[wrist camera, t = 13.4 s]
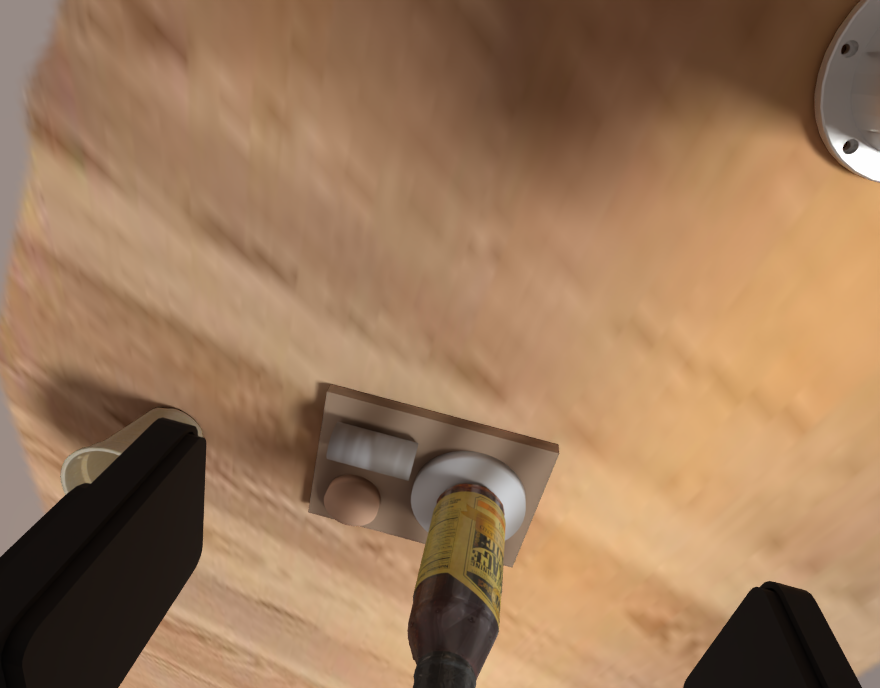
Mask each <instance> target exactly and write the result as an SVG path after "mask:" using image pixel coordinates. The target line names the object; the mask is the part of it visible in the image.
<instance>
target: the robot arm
mask: <svg viewBox="0 0 880 688" xmlns="http://www.w3.org/2000/svg"><path fill="white" fill-rule="evenodd" d="M844 44H845V45H846V51H845V52H844V53H843V54H841V49H842V46H843V45H844ZM814 99H815V118H816V122H817V126H818V130H819V134H820V136H821V138H822V140H823V142H824V144H825V146H826V148H827V150H828V151H829V152H830V154H831V155H832V156H833V157H834V158H835V159H836V160H837V161H838V162H839V163H840V164H841V165H842V166H844V167H845V168H847V169H848V170H850V171H851V172H853V173H854V174H856V175H859V176H861V177H864V178H866V179H868V180H871V181H875V182H879V183H880V0H861V1H860V2H859V3H858V4H857V5H856V6H855V7H854V8H853V9H852V11H851V12H850V13H849V15H848V16H847V17H846V19H845V20H844V21H843V23H842V24H841V25H840V27H839V28H838V30H837V32H836V33H835V35H834V37H833V39H832V41H831V43H830V45H829V47H828V48H827V50H826V52H825V55H824V58H823V61H822V64H821V67H820V70H819V73H818V77H817V83H816V89H815V95H814ZM846 141H847V146H846V147H845V148H844V149H842V148H843V145H844V144H845V143H846ZM205 464H206V440H205V438H203V437H200V436H198V430H197V428H196V426H193V425H190V424H186V423H182V422H178V421H175V420H171V419H167V418H164V417H162V418H158V419H157V420H156V421H154V422H153V423H152V424H151V425H150V426H149V427H148V428H147V429H146V430H145V431H144V432H143V433H142V434H141V435H140V436H139V437H138V438H137V439H136V440H135V441H134V442H133V443H132V444H131V445H130V446H129V447H128V448H127V449H126V450H125V451H124V452H123V453H122V454H121V455H120V456H119V457H118V458H117V459H115V460H114V461H113V462H112V463H111V464H110V465H109V466H108V467H107V468H106V469H105V470H104V471H103V472H102V473H101V474H100V475H99V476H98V477H97V478H96V479H95V480H94V481H93V482H92V483H83V484H81V485H78V486H76V487H75V488H74V489H72V490H71V491H70V492H68V493H67V494H66V495H65V496H64V497H63V498H62V499H61V500H60V501H59V502H58V503H57V504H56V505H55V506H54V507H52V508H51V509H50V510H49V511H48V512H47V513H46V514H45V515H44V516H43V517H42V518H41V519H40V520H39V521H38V522H37V523H36V524H35V525H34V526H32V527H31V528H30V529H29V530H28V531H27V532H26V533H25V534H24V535H23V536H22V537H21V538H20V539H19V540H18V541H17V542H16V543H15V544H14V545H13V546H12V547H10V548H9V549H8V550H7V551H6V552H5V553H4V554H3V555H2V556H1V557H0V688H118V687H119V686H120V684H121V683H122V681H123V680H124V678H125V676H126V675H127V673H128V672H129V670H130V669H131V667H132V666H133V664H134V663H135V661H136V659H137V658H138V656H139V655H140V653H141V652H142V650H143V649H144V647H145V646H146V644H147V642H148V641H149V639H150V638H151V636H152V635H153V633H154V632H155V630H156V628H157V627H158V625H159V624H160V622H161V621H162V619H163V618H164V616H165V615H166V613H167V611H168V610H169V608H170V607H171V605H172V604H173V602H174V601H175V599H176V598H177V596H178V594H179V593H180V591H181V590H182V588H183V587H184V585H185V584H186V582H187V580H188V579H189V577H190V576H191V574H192V573H193V571H194V569H195V568H196V566H197V564H198V562H199V559H200V556H201V552H202V547H203V519H204V492H205ZM683 688H862V687H861V685H860V683H859V681H858V679H857V677H856V676H855V674H854V672H853V670H852V668H851V666H850V664H849V662H848V661H847V659H846V657H845V655H844V653H843V651H842V649H841V647H840V646H839V644H838V642H837V640H836V638H835V636H834V634H833V632H832V631H831V629H830V627H829V625H828V623H827V621H826V619H825V617H824V616H823V614H822V612H821V610H820V608H819V606H818V604H817V602H816V601H815V599H814V598H813V596H812V595H811V594H810V593H809V592H807V591H806V590H802V589H798V588H795V587H791V586H787V585H784V584H780V583H776V582H772V581H768V582H765V583H763V584H762V585H761V586H760V587H754V588H752V589H751V590H750V591H749V593H748V594H747V596H746V597H745V598H744V600H743V601H742V603H741V604H740V605H739V607H738V608H737V609H736V611H735V612H734V614H733V615H732V616H731V618H730V619H729V621H728V622H727V623H726V625H725V626H724V628H723V629H722V630H721V632H720V633H719V634H718V636H717V637H716V639H715V640H714V641H713V643H712V644H711V646H710V647H709V648H708V650H707V651H706V652H705V654H704V655H703V657H702V658H701V659H700V661H699V662H698V664H697V665H696V666H695V668H694V669H693V671H692V672H691V673H690V675H689V676H688V677H687V679H686V681H685V683H684V687H683Z"/></svg>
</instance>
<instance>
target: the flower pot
mask: <svg viewBox="0 0 880 688" xmlns="http://www.w3.org/2000/svg"><path fill="white" fill-rule="evenodd" d="M162 417H164V418H167V419H171V420H175V421H178V422H182V423H186V424H190V425H193V426H196V428H197V430H198V436H200V437H203V435H202V430H201V428H200V427H199V425H198V424H197V423H196V422H195V421H194V420H193V419H192V418H191V417H190V416H188V415H187V414H185V413H184V412H182V411H179V410H177V409H166V408H155V409H152V410H150V411H149V412H147V413H146V414H145V415H143V416H141V417H140V418H138V419H137V420H135V421H134V422H132V423H131V424H129V425H128V426H126V427H125V428H123V429H122V430H120V431H119V432H117V433H115V434H114V435H112V436H111V437H109V438H108V439H106V440H104V441H103V442H99V443H96V444H93V445H92V446H89V447H84V448H81V449H79V450H77V451H75V452H74V453H72V454H71V455H70V456H68V457H67V459H66V460H65V461H64V463H63V466H62V469H61V476H60V477H61V483H62V487H63V490H64V493H65V494H67V493H68V492H70V491H71V490H72V489H74V488H75V487H76V486H78V485H81V484H83V483H92V482H93V481H94V480H95V479H96V478H97V477H98V476H99V475H100V474H101V473H102V472H103V471H104V470H105V469H106V468H107V467H108V466H109V465H110V464H111V463H112V462H113V461H114V460H115V459H117V458H118V457H119V456H120V455H121V454H122V453H123V452H124V451H125V450H126V449H127V448H128V447H129V446H130V445H131V444H132V443H133V442H134V441H135V440H136V439H137V438H138V437H139V436H140V435H141V434H142V433H143V432H144V431H145V430H146V429H147V428H148V427H149V426H150V425H151V424H152V423H153V422H154V421H156V420H157V419H158V418H162Z"/></svg>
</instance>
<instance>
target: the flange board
mask: <svg viewBox="0 0 880 688" xmlns="http://www.w3.org/2000/svg"><path fill="white" fill-rule="evenodd" d="M558 455H559V445H557V444H553V443H550V442H546V441H542V440H538V439H535V438H531V437H527V436H523V435H520V434H516V433H512V432H508V431H505V430H501V429H497V428H493V427H490V426H486V425H482V424H478V423H475V422H471V421H467V420H463V419H460V418H456V417H452V416H448V415H445V414H441V413H437V412H433V411H430V410H426V409H422V408H418V407H415V406H411V405H407V404H403V403H400V402H396V401H392V400H389V399H385V398H381V397H377V396H374V395H370V394H366V393H362V392H359V391H355V390H351V389H347V388H344V387H340V386H336V385H332V384H331V385H330V387H329V389H328V390H327V394H326V400H325V407H324V413H323V420H322V426H321V433H320V439H319V445H318V452H317V458H316V465H315V471H314V478H313V484H312V491H311V497H310V504H309V510H308V512H309V513H313V514H317V515H320V516H324V517H328V518H331V519H335V520H337V521H338V522H340V523H343V524H345V525H349V526H361V527H364V528H368V529H372V530H376V531H379V532H383V533H387V534H390V535H394V536H398V537H401V538H405V539H409V540H412V541H416V542H420V543H423V544H426V540H427V536H428V532H429V528H430V523H431V519H432V515H433V511H434V508H435V506H436V505H437V499H438V498H439V496H440V495H441V494H442V493H443V492H445V490H447V489H449V488H450V487H452V486H455V485H458V484H463V483H467V484H474V485H482V486H485V487H487V488H488V489H489V490H490V491H491V492H492V493H494V494H495V495H496V496H497V497H498V498H499V499H500V501H501V503H502V504H503V508H504V513H505V515H504V517H505V522H506V529H505V544H504V560H503V565H505V566H508V567H513V564H514V562H515V560H516V557H517V555H518V552H519V550H520V547H521V545H522V543H523V540H524V538H525V535H526V533H527V531H528V528H529V526H530V523H531V521H532V518H533V516H534V514H535V511H536V509H537V506H538V504H539V501H540V499H541V497H542V494H543V492H544V489H545V487H546V484H547V482H548V480H549V477H550V475H551V472H552V470H553V467H554V465H555V463H556V460H557V458H558Z"/></svg>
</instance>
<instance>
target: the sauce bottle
mask: <svg viewBox="0 0 880 688" xmlns="http://www.w3.org/2000/svg"><path fill="white" fill-rule="evenodd" d="M504 515H505V513H504V508H503V504H502V503H501V501H500V499H499V498H498V497H497V496H496V495H495V494H494V493H492V492H491V491H490V490H489V489H488V488H487V487H485V486H482V485H474V484H467V483H463V484H458V485H455V486H452V487H450V488H449V489H447V490H445V492H443V493H442V494H441V495H440V496H439V498H438V499H437V505H436V506H435V508H434V511H433V515H432V519H431V523H430V528H429V532H428V536H427V540H426V544H425V548H424V553H423V557H422V561H421V565H420V569H419V573H418V578H417V582H416V586H415V590H414V595H413V605H412V610H411V614H410V618H409V623H408V640H409V645H410V648H411V652H412V656H413V660H415V662H416V664H417V666H416V669H415V673H414V685H413V688H475V687H476V680H477V677H478V675H479V673H480V671H481V669H482V667H483V665H484V662H485V660H486V658H487V656H488V654H489V652H490V650H491V648H492V646H493V644H494V642H495V639H496V637H497V635H498V632H499V622H500V605H501V593H502V578H503V560H504V544H505V529H506V522H505V517H504Z"/></svg>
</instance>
